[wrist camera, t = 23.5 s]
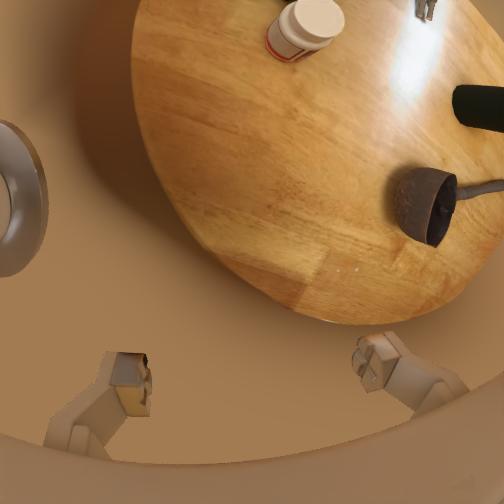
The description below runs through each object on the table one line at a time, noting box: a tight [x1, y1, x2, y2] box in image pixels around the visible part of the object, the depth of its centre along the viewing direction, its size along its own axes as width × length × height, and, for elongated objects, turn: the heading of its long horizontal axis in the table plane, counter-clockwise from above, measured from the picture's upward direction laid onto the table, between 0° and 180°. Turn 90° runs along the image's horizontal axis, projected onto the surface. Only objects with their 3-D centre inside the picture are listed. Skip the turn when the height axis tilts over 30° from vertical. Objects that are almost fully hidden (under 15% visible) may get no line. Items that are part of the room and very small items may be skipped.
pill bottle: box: [265, 0, 345, 62], centre depth 24 cm, size 6×6×11 cm
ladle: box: [394, 168, 504, 248], centre depth 41 cm, size 12×38×10 cm, turn 98°
